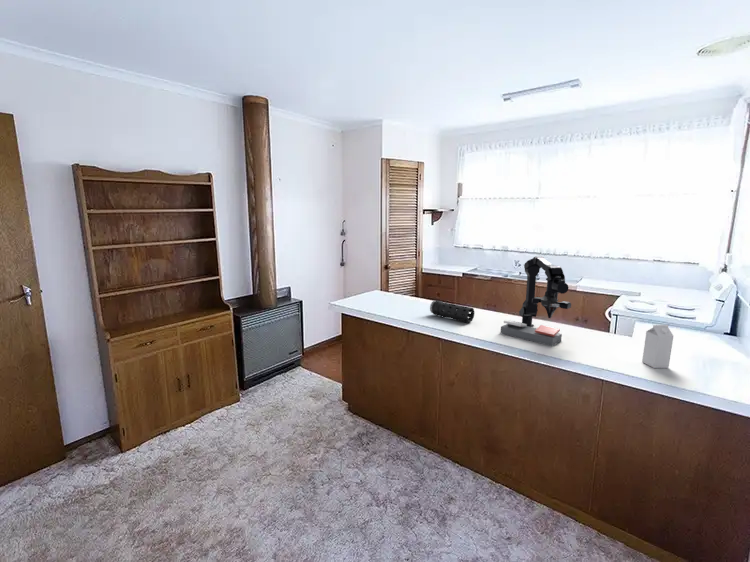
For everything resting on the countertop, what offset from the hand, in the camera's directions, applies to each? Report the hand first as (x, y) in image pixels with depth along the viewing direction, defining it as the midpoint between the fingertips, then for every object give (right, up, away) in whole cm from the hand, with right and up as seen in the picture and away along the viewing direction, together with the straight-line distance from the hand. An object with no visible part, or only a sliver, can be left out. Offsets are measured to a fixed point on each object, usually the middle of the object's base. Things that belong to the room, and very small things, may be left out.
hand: (549, 318), depth 208 cm
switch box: (-8, -11, +6) cm, 15 cm away
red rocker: (-2, -7, -1) cm, 7 cm away
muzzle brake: (-45, -5, +41) cm, 61 cm away
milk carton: (+34, -19, -32) cm, 50 cm away
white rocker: (-14, -4, +12) cm, 19 cm away
